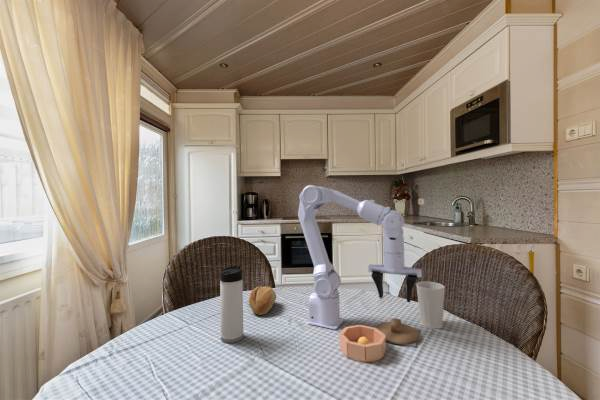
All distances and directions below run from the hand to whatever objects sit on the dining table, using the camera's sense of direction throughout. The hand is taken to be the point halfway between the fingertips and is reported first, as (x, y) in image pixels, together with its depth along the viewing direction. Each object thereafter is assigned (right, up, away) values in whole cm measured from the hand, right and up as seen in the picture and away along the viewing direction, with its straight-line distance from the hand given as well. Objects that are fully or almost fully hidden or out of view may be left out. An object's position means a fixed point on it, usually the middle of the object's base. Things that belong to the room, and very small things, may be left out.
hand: (394, 299), depth 79 cm
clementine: (-11, -8, -9) cm, 17 cm away
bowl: (-11, -10, -9) cm, 17 cm away
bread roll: (-41, -11, +20) cm, 47 cm away
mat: (0, -10, -1) cm, 10 cm away
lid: (0, -10, -1) cm, 10 cm away
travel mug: (-47, -11, -1) cm, 48 cm away
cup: (+13, -10, +5) cm, 17 cm away
